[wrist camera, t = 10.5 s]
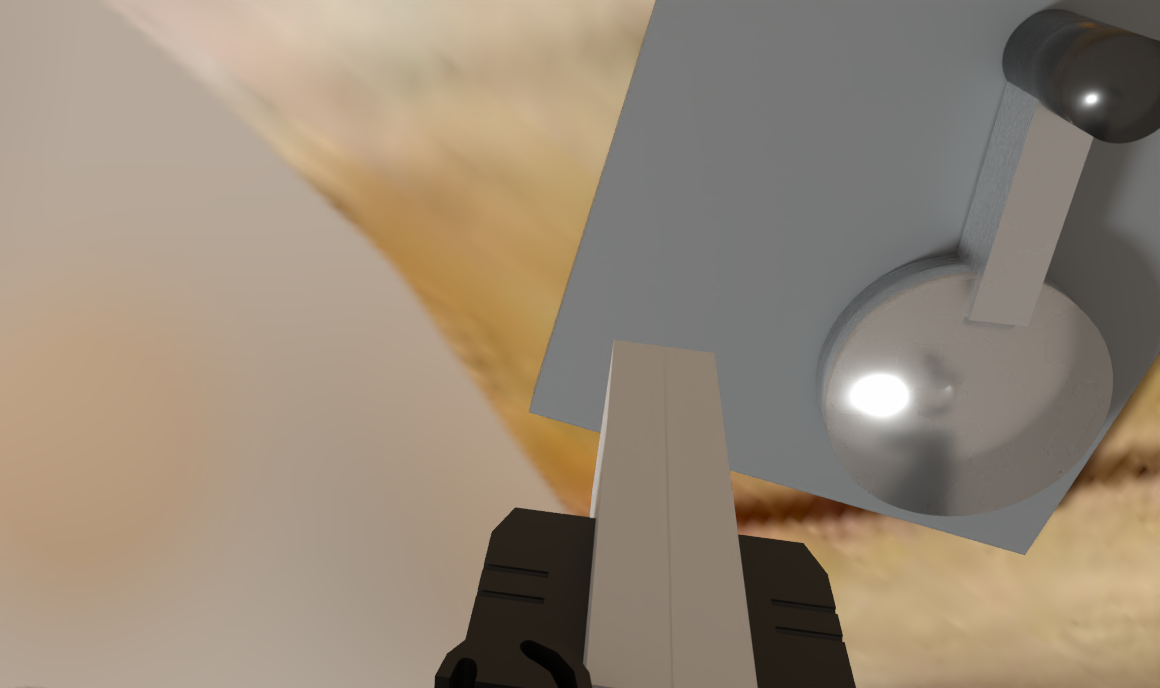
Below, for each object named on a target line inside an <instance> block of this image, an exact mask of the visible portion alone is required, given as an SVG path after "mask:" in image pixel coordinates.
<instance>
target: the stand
mask: <svg viewBox="0 0 1160 688" xmlns="http://www.w3.org/2000/svg"><path fill="white" fill-rule="evenodd" d="M1051 9H1062V10H1067V11H1070V12H1073V13H1076V14H1079V15H1082V16H1085V17H1088V18H1091V19H1094V20H1097V21H1100V22H1103V23H1106V24H1110V25H1113V26H1116V27H1119V28H1122V29H1125V30H1128V31H1131V32H1134V33H1137V34H1140V35H1143V36H1146V37H1149V38H1152V39H1155V40H1158V41H1160V0H656V2H655V5H654V8H653V11H652V15H651V18H650V21H649V24H648V27H647V30H646V34H645V37H644V40H643V43H642V46H641V50H640V53H639V56H638V59H637V62H636V66H635V69H634V72H633V75H632V78H631V82H630V85H629V88H628V91H627V94H626V98H625V101H624V104H623V107H622V110H621V114H620V117H619V120H618V123H617V126H616V129H615V133H614V136H613V139H612V142H611V145H610V149H609V152H608V155H607V158H606V161H605V165H604V168H603V171H602V174H601V177H600V181H599V184H598V187H597V190H596V193H595V197H594V200H593V203H592V206H591V209H590V212H589V216H588V219H587V222H586V225H585V228H584V232H583V235H582V238H581V241H580V244H579V248H578V251H577V254H576V257H575V260H574V264H573V267H572V270H571V273H570V276H569V280H568V283H567V286H566V289H565V292H564V295H563V299H562V302H561V305H560V308H559V311H558V315H557V318H556V321H555V324H554V327H553V331H552V334H551V337H550V340H549V343H548V347H547V350H546V353H545V356H544V359H543V363H542V366H541V369H540V372H539V375H538V378H537V382H536V385H535V388H534V392H533V397H532V401H531V405H530V410H529V412H530V413H533V414H537V415H540V416H543V417H547V418H550V419H554V420H557V421H561V422H564V423H568V424H571V425H575V426H578V427H582V428H585V429H589V430H592V431H596V432H599V433H601V427H602V420H603V413H604V406H605V399H606V392H607V385H608V378H609V371H610V364H611V357H612V350H613V343H614V340H620V341H628V342H635V343H643V344H651V345H658V346H666V347H673V348H681V349H689V350H696V351H704V352H712V353H715V360H716V368H717V376H718V384H719V391H720V399H721V407H722V415H723V423H724V430H725V438H726V446H727V454H728V461H729V469H730V470H731V471H734V472H738V473H741V474H745V475H748V476H752V477H755V478H759V479H762V480H766V481H769V482H773V483H776V484H780V485H783V486H787V487H790V488H794V489H797V490H800V491H804V492H807V493H811V494H814V495H818V496H821V497H825V498H828V499H832V500H835V501H839V502H842V503H846V504H849V505H853V506H856V507H859V508H863V509H866V510H870V511H873V512H877V513H880V514H884V515H887V516H891V517H894V518H898V519H901V520H905V521H908V522H912V523H915V524H919V525H922V526H925V527H929V528H932V529H936V530H939V531H943V532H946V533H950V534H953V535H957V536H960V537H964V538H967V539H971V540H974V541H978V542H981V543H985V544H988V545H991V546H995V547H998V548H1002V549H1005V550H1009V551H1012V552H1016V553H1019V554H1023V555H1025V554H1026V553H1027V551H1028V550H1029V548H1030V547H1031V545H1032V544H1033V542H1034V541H1035V539H1036V538H1037V536H1038V535H1039V533H1040V532H1041V530H1042V529H1043V527H1044V526H1045V524H1046V523H1047V521H1048V520H1049V518H1050V517H1051V515H1052V514H1053V512H1054V511H1055V509H1056V508H1057V506H1058V505H1059V503H1060V501H1061V500H1062V498H1063V497H1064V495H1065V494H1066V492H1067V491H1068V489H1069V488H1070V486H1071V485H1072V483H1073V482H1074V480H1075V479H1076V477H1077V476H1078V474H1079V473H1080V471H1081V470H1082V468H1083V467H1084V465H1085V464H1086V462H1087V461H1088V459H1089V458H1090V456H1091V455H1092V453H1093V452H1094V450H1095V449H1096V447H1097V446H1098V444H1099V443H1100V441H1101V440H1102V438H1103V437H1104V435H1105V434H1106V432H1107V431H1108V429H1109V428H1110V426H1111V425H1112V423H1113V422H1114V420H1115V419H1116V417H1117V416H1118V414H1119V413H1120V411H1121V410H1122V408H1123V407H1124V405H1125V404H1126V402H1127V401H1128V399H1129V398H1130V396H1131V395H1132V393H1133V392H1134V390H1135V389H1136V387H1137V386H1138V384H1139V383H1140V381H1141V380H1142V378H1143V377H1144V375H1145V374H1146V372H1147V371H1148V369H1149V368H1150V366H1151V365H1152V363H1153V362H1154V360H1155V359H1156V357H1157V356H1158V354H1159V353H1160V129H1158V130H1157V131H1155V132H1154V133H1152V134H1151V135H1149V136H1147V137H1145V138H1142V139H1140V140H1137V141H1134V142H1129V143H1121V144H1116V143H1108V142H1104V141H1101V140H1098V139H1096V138H1094V137H1093V140H1092V143H1091V146H1090V149H1089V152H1088V155H1087V157H1086V160H1085V163H1084V166H1083V169H1082V172H1081V175H1080V178H1079V181H1078V184H1077V186H1076V189H1075V192H1074V195H1073V198H1072V201H1071V204H1070V207H1069V210H1068V212H1067V215H1066V218H1065V221H1064V224H1063V227H1062V230H1061V233H1060V236H1059V239H1058V241H1057V244H1056V247H1055V250H1054V253H1053V256H1052V259H1051V262H1050V265H1049V267H1048V270H1047V273H1046V276H1047V277H1049V278H1050V279H1051V280H1052V281H1053V282H1054V283H1055V284H1056V285H1057V286H1058V287H1060V288H1061V289H1062V290H1063V291H1064V292H1065V293H1066V294H1067V295H1068V296H1069V298H1070V299H1071V300H1072V301H1073V302H1074V303H1075V304H1076V305H1077V306H1078V307H1079V308H1080V309H1081V310H1082V311H1083V312H1084V313H1085V314H1086V315H1087V316H1088V317H1089V318H1090V320H1091V321H1092V322H1093V323H1094V325H1095V326H1096V327H1097V328H1098V330H1099V332H1100V334H1101V336H1102V337H1103V339H1104V341H1105V343H1106V346H1107V349H1108V352H1109V355H1110V358H1111V364H1112V370H1113V391H1112V397H1111V403H1110V407H1109V410H1108V413H1107V416H1106V419H1105V422H1104V424H1103V426H1102V428H1101V430H1100V432H1099V434H1098V436H1097V437H1096V439H1095V440H1094V442H1093V444H1092V445H1091V447H1090V448H1089V450H1088V451H1087V452H1086V453H1085V454H1084V455H1083V457H1082V458H1081V459H1080V460H1079V461H1078V462H1077V464H1076V465H1074V466H1073V467H1072V468H1071V469H1070V470H1069V471H1068V472H1067V473H1066V474H1065V475H1064V476H1062V477H1061V478H1060V479H1058V480H1057V481H1056V482H1054V483H1053V484H1052V485H1050V486H1049V487H1047V488H1045V489H1044V490H1042V491H1040V492H1039V493H1037V494H1035V495H1034V496H1031V497H1029V498H1027V499H1025V500H1023V501H1021V502H1019V503H1016V504H1013V505H1010V506H1008V507H1005V508H1002V509H998V510H994V511H990V512H986V513H981V514H974V515H967V516H932V515H925V514H919V513H914V512H910V511H907V510H904V509H900V508H897V507H895V506H892V505H890V504H888V503H885V502H883V501H881V500H880V499H878V498H876V497H875V496H873V495H871V494H870V493H868V492H867V491H866V490H865V489H863V488H862V487H861V486H859V485H858V484H857V483H856V482H855V481H854V480H853V479H852V478H851V477H850V476H849V474H848V473H847V472H846V470H845V469H844V468H843V466H842V465H841V463H840V462H839V460H838V458H837V456H836V454H835V452H834V450H833V448H832V444H831V441H830V438H829V435H828V432H827V428H826V425H825V422H824V419H823V416H822V412H821V409H820V406H819V403H818V397H817V390H816V373H817V367H818V360H819V356H820V353H821V350H822V347H823V344H824V342H825V340H826V337H827V335H828V333H829V331H830V329H831V328H832V326H833V324H834V323H835V321H836V320H837V318H838V317H839V315H840V314H841V313H842V312H843V311H844V309H845V308H846V307H847V306H848V305H849V303H850V302H851V301H852V300H853V299H854V298H856V297H857V296H858V295H859V294H860V293H861V292H862V291H863V290H864V289H866V288H867V287H868V286H870V285H871V284H872V283H874V282H875V281H876V280H878V279H880V278H881V277H883V276H885V275H886V274H888V273H890V272H892V271H893V270H895V269H898V268H900V267H902V266H905V265H907V264H909V263H912V262H915V261H918V260H921V259H925V258H928V257H932V256H937V255H943V254H948V253H957V250H958V247H959V244H960V240H961V237H962V233H963V230H964V227H965V223H966V220H967V216H968V213H969V210H970V206H971V203H972V200H973V196H974V193H975V189H976V186H977V183H978V179H979V176H980V172H981V169H982V166H983V162H984V159H985V155H986V152H987V149H988V145H989V142H990V138H991V135H992V132H993V128H994V125H995V121H996V118H997V115H998V111H999V108H1000V105H1001V101H1002V98H1003V94H1004V91H1005V88H1006V84H1007V80H1006V78H1005V75H1004V72H1003V67H1002V58H1003V52H1004V48H1005V46H1006V43H1007V41H1008V39H1009V37H1010V36H1011V34H1012V33H1013V32H1014V30H1015V29H1016V28H1017V27H1018V26H1019V25H1020V24H1021V23H1022V22H1023V21H1025V20H1026V19H1027V18H1029V17H1031V16H1032V15H1034V14H1036V13H1039V12H1042V11H1046V10H1051Z"/></svg>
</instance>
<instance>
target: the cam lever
mask: <svg viewBox="0 0 1160 688" xmlns="http://www.w3.org/2000/svg"><path fill="white" fill-rule="evenodd" d="M1002 67H1003V72H1004V75H1005V78H1006V80H1007V84H1006V88H1005V91H1004V94H1003V98H1002V101H1001V105H1000V108H999V111H998V115H997V118H996V121H995V125H994V128H993V132H992V135H991V138H990V142H989V145H988V149H987V152H986V155H985V159H984V162H983V166H982V169H981V172H980V176H979V179H978V183H977V186H976V189H975V193H974V196H973V200H972V203H971V206H970V210H969V213H968V216H967V220H966V223H965V227H964V230H963V233H962V237H961V240H960V244H959V247H958V250H957V253H948V254H943V255H937V256H932V257H928V258H925V259H921V260H918V261H915V262H912V263H909V264H907V265H905V266H902V267H900V268H898V269H895V270H893V271H892V272H890V273H888V274H886V275H885V276H883V277H881V278H880V279H878V280H876V281H875V282H874V283H872V284H871V285H870V286H868V287H867V288H866V289H864V290H863V291H862V292H861V293H860V294H859V295H858V296H857V297H856V298H854V299H853V300H852V301H851V302H850V303H849V305H848V306H847V307H846V308H845V309H844V311H843V312H842V313H841V314H840V315H839V317H838V318H837V320H836V321H835V323H834V324H833V326H832V328H831V329H830V331H829V333H828V335H827V337H826V340H825V342H824V344H823V347H822V350H821V353H820V356H819V360H818V367H817V373H816V390H817V397H818V403H819V406H820V409H821V412H822V416H823V419H824V422H825V425H826V428H827V432H828V435H829V438H830V441H831V444H832V448H833V450H834V452H835V454H836V456H837V458H838V460H839V462H840V463H841V465H842V466H843V468H844V469H845V470H846V472H847V473H848V474H849V476H850V477H851V478H852V479H853V480H854V481H855V482H856V483H857V484H858V485H859V486H861V487H862V488H863V489H865V490H866V491H867V492H868V493H870V494H871V495H873V496H875V497H876V498H878V499H880V500H881V501H883V502H885V503H888V504H890V505H892V506H895V507H897V508H900V509H904V510H907V511H910V512H914V513H919V514H925V515H932V516H967V515H974V514H981V513H986V512H990V511H994V510H998V509H1002V508H1005V507H1008V506H1010V505H1013V504H1016V503H1019V502H1021V501H1023V500H1025V499H1027V498H1029V497H1031V496H1034V495H1035V494H1037V493H1039V492H1040V491H1042V490H1044V489H1045V488H1047V487H1049V486H1050V485H1052V484H1053V483H1054V482H1056V481H1057V480H1058V479H1060V478H1061V477H1062V476H1064V475H1065V474H1066V473H1067V472H1068V471H1069V470H1070V469H1071V468H1072V467H1073V466H1074V465H1076V464H1077V462H1078V461H1079V460H1080V459H1081V458H1082V457H1083V455H1084V454H1085V453H1086V452H1087V451H1088V450H1089V448H1090V447H1091V445H1092V444H1093V442H1094V440H1095V439H1096V437H1097V436H1098V434H1099V432H1100V430H1101V428H1102V426H1103V424H1104V422H1105V419H1106V416H1107V413H1108V410H1109V407H1110V403H1111V397H1112V391H1113V370H1112V364H1111V358H1110V355H1109V352H1108V349H1107V346H1106V343H1105V341H1104V339H1103V337H1102V336H1101V334H1100V332H1099V330H1098V328H1097V327H1096V326H1095V325H1094V323H1093V322H1092V321H1091V320H1090V318H1089V317H1088V316H1087V315H1086V314H1085V313H1084V312H1083V311H1082V310H1081V309H1080V308H1079V307H1078V306H1077V305H1076V304H1075V303H1074V302H1073V301H1072V300H1071V299H1070V298H1069V296H1068V295H1067V294H1066V293H1065V292H1064V291H1063V290H1062V289H1061V288H1060V287H1058V286H1057V285H1056V284H1055V283H1054V282H1053V281H1052V280H1051V279H1050V278H1049V277H1047V276H1046V273H1047V270H1048V267H1049V265H1050V262H1051V259H1052V256H1053V253H1054V250H1055V247H1056V244H1057V241H1058V239H1059V236H1060V233H1061V230H1062V227H1063V224H1064V221H1065V218H1066V215H1067V212H1068V210H1069V207H1070V204H1071V201H1072V198H1073V195H1074V192H1075V189H1076V186H1077V184H1078V181H1079V178H1080V175H1081V172H1082V169H1083V166H1084V163H1085V160H1086V157H1087V155H1088V152H1089V149H1090V146H1091V143H1092V140H1093V137H1094V138H1096V139H1098V140H1101V141H1104V142H1108V143H1116V144H1121V143H1129V142H1134V141H1137V140H1140V139H1142V138H1145V137H1147V136H1149V135H1151V134H1152V133H1154V132H1155V131H1157V130H1158V129H1160V41H1158V40H1155V39H1152V38H1149V37H1146V36H1143V35H1140V34H1137V33H1134V32H1131V31H1128V30H1125V29H1122V28H1119V27H1116V26H1113V25H1110V24H1106V23H1103V22H1100V21H1097V20H1094V19H1091V18H1088V17H1085V16H1082V15H1079V14H1076V13H1073V12H1070V11H1067V10H1062V9H1051V10H1046V11H1042V12H1039V13H1036V14H1034V15H1032V16H1031V17H1029V18H1027V19H1026V20H1025V21H1023V22H1022V23H1021V24H1020V25H1019V26H1018V27H1017V28H1016V29H1015V30H1014V32H1013V33H1012V34H1011V36H1010V37H1009V39H1008V41H1007V43H1006V46H1005V48H1004V52H1003V58H1002Z"/></svg>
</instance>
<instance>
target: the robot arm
mask: <svg viewBox="0 0 1160 688" xmlns="http://www.w3.org/2000/svg"><path fill="white" fill-rule="evenodd" d="M835 609H836V606H835V602H834V598H833V594H832V590H831V586H830V582H829V578H828V574H827V573H826V572H825V570H824V569H823V568H822V566H821V565H820V564H819V563H818V561H817V560H816V559H815V557H814V556H813V555H812V554H811V552H810V551H809V550H808V548H807V547H806V546H805V545H804V543H798V542H791V541H783V540H776V539H768V538H761V537H753V536H746V535H738V531H737V524H736V516H735V508H734V500H733V493H732V485H731V477H730V469H729V461H728V454H727V446H726V438H725V430H724V423H723V415H722V407H721V399H720V391H719V384H718V376H717V368H716V360H715V353H712V352H704V351H696V350H689V349H681V348H673V347H666V346H658V345H651V344H643V343H635V342H628V341H620V340H614V343H613V350H612V357H611V364H610V371H609V378H608V385H607V392H606V399H605V406H604V413H603V420H602V427H601V434H600V441H599V448H598V455H597V462H596V469H595V476H594V483H593V490H592V500H591V510H590V517H583V516H575V515H568V514H560V513H553V512H545V511H537V510H530V509H522V508H514V509H513V510H512V511H511V512H510V514H509V515H508V516H507V517H506V518H505V519H504V520H503V521H502V522H501V523H500V524H499V525H498V526H497V527H496V528H495V529H494V530H493V531H492V533H491V538H490V542H489V546H488V550H487V554H486V558H485V562H484V568H483V570H482V574H481V578H480V582H479V587H478V592H477V596H476V599H475V603H474V607H473V611H472V615H471V619H470V623H469V627H468V631H467V635H466V639H465V640H464V641H463V642H462V643H460V644H459V645H458V646H457V647H455V648H454V649H453V650H452V651H450V652H449V653H447V655H446V657H445V659H444V660H443V662H442V664H441V666H440V668H439V670H438V672H437V673H436V675H435V687H434V688H856V686H855V682H854V678H853V674H852V670H851V666H850V662H849V658H848V654H847V650H846V646H845V642H842V636H843V634H842V630H841V626H840V622H839V618H838V614H835Z"/></svg>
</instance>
